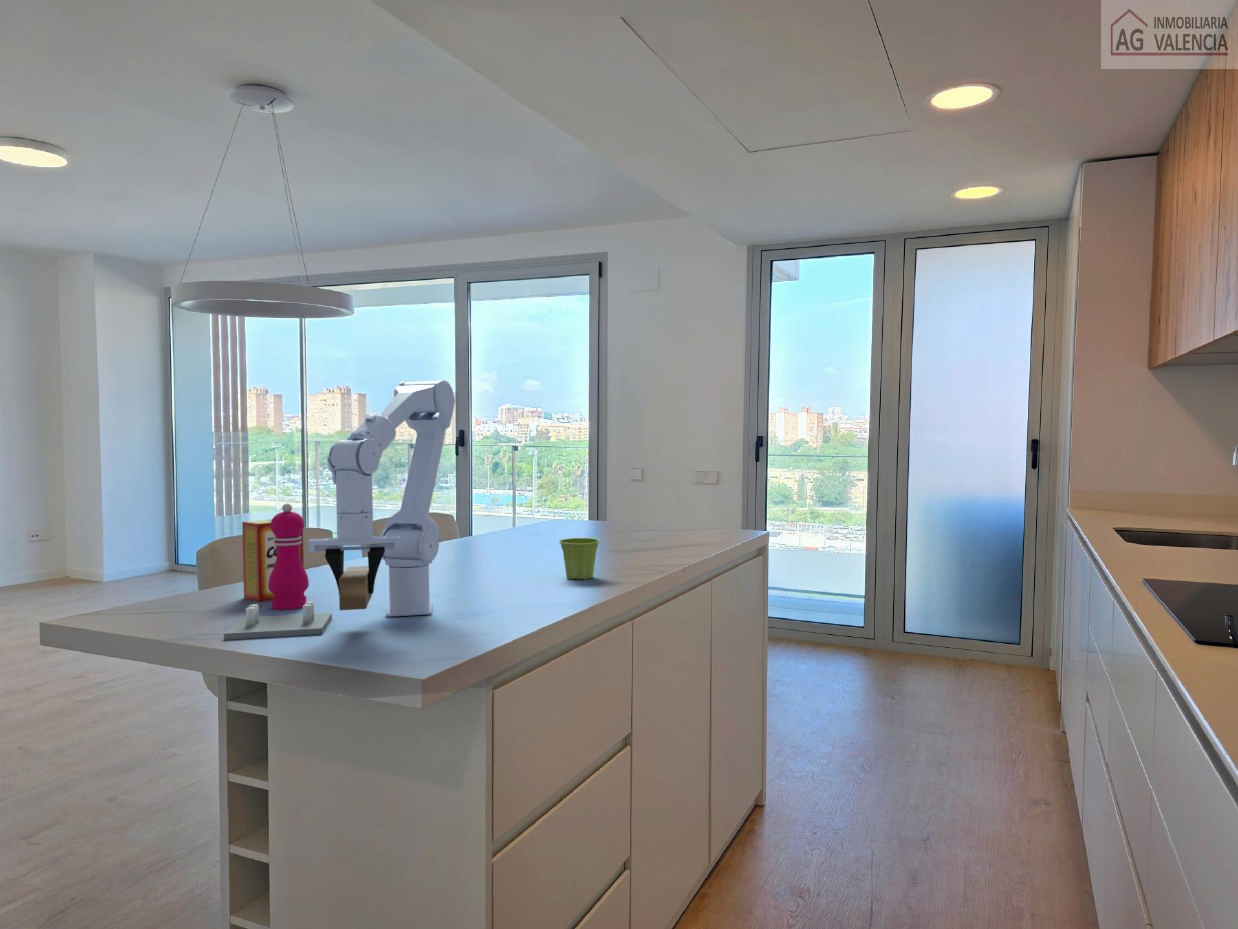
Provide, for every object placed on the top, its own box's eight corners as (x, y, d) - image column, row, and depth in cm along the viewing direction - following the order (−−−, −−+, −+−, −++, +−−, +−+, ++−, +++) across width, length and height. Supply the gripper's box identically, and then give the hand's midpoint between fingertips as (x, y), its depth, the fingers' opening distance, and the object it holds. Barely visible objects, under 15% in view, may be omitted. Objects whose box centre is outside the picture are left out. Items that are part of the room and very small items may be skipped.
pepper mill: (262, 607, 154) (260, 503, 153) (298, 601, 159) (296, 501, 158) (278, 612, 149) (276, 505, 148) (315, 606, 154) (313, 503, 153)
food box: (259, 602, 159) (257, 522, 158) (244, 598, 163) (242, 520, 162) (304, 594, 166) (302, 518, 166) (288, 591, 170) (286, 516, 170)
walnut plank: (348, 595, 138) (347, 567, 138) (372, 594, 139) (371, 566, 139) (339, 610, 126) (338, 579, 126) (365, 609, 127) (365, 577, 127)
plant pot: (608, 578, 182) (607, 540, 182) (572, 583, 177) (572, 544, 177) (586, 573, 190) (586, 536, 190) (552, 577, 185) (551, 540, 184)
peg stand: (242, 623, 140) (241, 600, 140) (331, 618, 143) (331, 596, 143) (224, 639, 128) (223, 615, 128) (322, 634, 132) (321, 610, 131)
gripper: (304, 515, 127) (306, 600, 127) (398, 512, 130) (400, 595, 130) (311, 511, 134) (313, 592, 134) (400, 509, 137) (402, 587, 137)
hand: (356, 593), depth 133 cm, fingers closed on walnut plank, 4 cm apart
